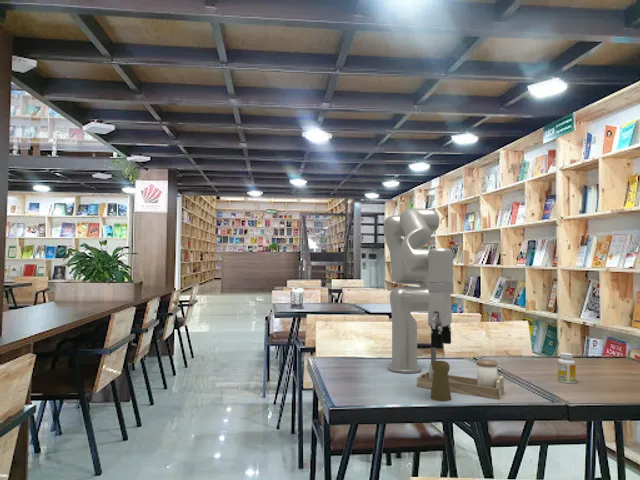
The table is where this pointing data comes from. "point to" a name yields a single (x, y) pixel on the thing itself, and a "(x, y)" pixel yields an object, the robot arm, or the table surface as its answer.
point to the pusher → (433, 358)
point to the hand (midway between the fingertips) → (441, 345)
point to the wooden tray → (465, 386)
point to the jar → (486, 373)
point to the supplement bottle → (566, 368)
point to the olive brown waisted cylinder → (440, 381)
